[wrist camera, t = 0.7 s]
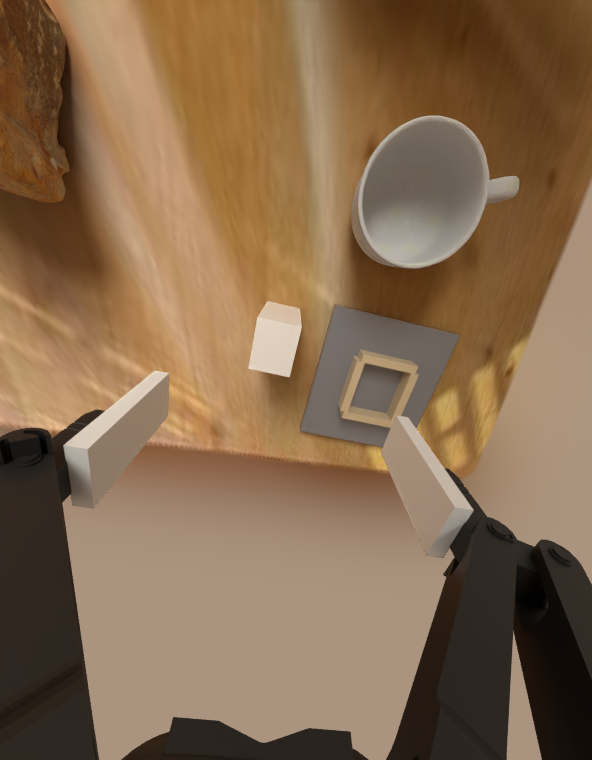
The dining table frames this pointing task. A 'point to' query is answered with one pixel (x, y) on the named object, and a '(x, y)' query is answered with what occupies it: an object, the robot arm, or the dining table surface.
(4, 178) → the rough brown rock
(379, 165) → the teacup
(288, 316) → the plug
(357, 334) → the socket plate
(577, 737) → the robot arm
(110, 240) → the dining table surface
